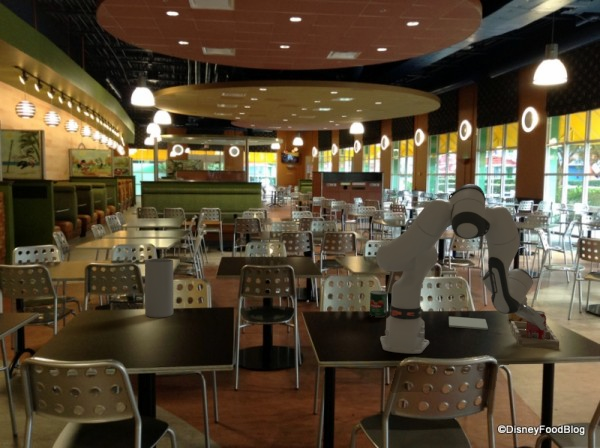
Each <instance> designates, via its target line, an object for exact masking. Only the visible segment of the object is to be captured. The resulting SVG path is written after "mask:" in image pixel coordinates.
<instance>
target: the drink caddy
mask: <svg viewBox="0 0 600 448" xmlns="http://www.w3.org/2000/svg"><path fill="white" fill-rule="evenodd" d="M526 328H527V322H518V321H510V329H511V332H512V334H513V336H514V338H515V342H516V343H517V345H519V346H520V347H528V346H529V347H530V348H540V347H542V348H541V349H551V348H556V349H555V350H560V340H559V338H558V337H557V336H556V335H555V333H554V331H552V329H551V327H550V326H549V325H548V323H546V337H545V339H534V338H525V337H526V330H525V329H526ZM549 339H550V340H549ZM519 346H518V347H519Z"/></svg>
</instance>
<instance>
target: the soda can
mask: <svg viewBox="0 0 600 448" xmlns="http://www.w3.org/2000/svg"><path fill="white" fill-rule="evenodd" d="M535 311H536V312H537V313H538V314H539V315H540V316H541V317H542V318H543V319H544V322H543V323H542V324H543V325H544V327H545V329H544V330H540V329H539V328H538V326H536V325H534V324H532V323H530V322H529V321H527V328H526V338H534V339H545V337H546V324H547V316H546V312H545V311H542V310H535Z"/></svg>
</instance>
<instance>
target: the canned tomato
mask: <svg viewBox="0 0 600 448" xmlns="http://www.w3.org/2000/svg"><path fill="white" fill-rule="evenodd" d="M369 292H370V293H369V316H370V315H371V316H370V317H372V316H375V317H374V318H386V317H387V313H388V311H387V307H388V292H387V291H384V290H371V291H369ZM385 316H386V317H385Z"/></svg>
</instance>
